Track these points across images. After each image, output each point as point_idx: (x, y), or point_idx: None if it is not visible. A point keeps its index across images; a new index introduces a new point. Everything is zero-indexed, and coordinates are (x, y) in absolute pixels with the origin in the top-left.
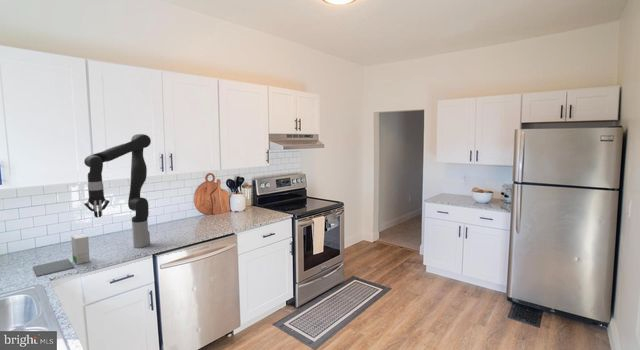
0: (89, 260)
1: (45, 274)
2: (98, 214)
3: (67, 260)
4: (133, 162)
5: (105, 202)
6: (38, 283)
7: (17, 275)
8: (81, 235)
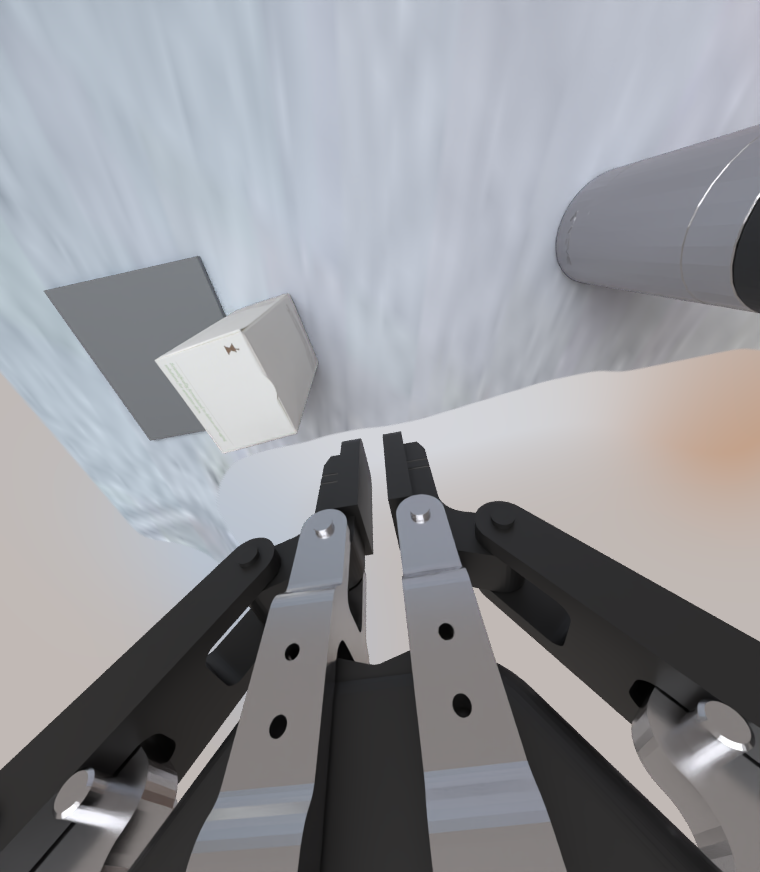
0: (317, 364)
1: (176, 434)
2: (384, 455)
3: (204, 295)
4: None
5: (656, 754)
6: (190, 496)
7: (47, 377)
8: (241, 391)
